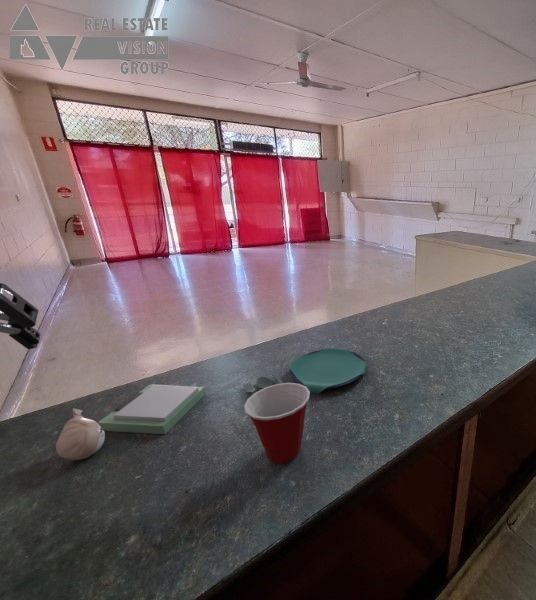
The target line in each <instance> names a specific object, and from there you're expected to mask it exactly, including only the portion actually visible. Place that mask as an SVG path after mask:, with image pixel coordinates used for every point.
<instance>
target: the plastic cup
mask: <svg viewBox="0 0 536 600" xmlns="http://www.w3.org/2000/svg"><path fill="white" fill-rule="evenodd" d="M310 395H311V392H310V391H309V390H308V389H307V387H305V386H303V385H301V384H298V383H297V382H295V383H294V382H283V383H282V384H279V383H276V384H272V385H271V386H269V387H266V388H264V389H260V390H258V391H257V392H256V393H254V394H253V395H252V396H251V395H250V397H248V398H247V400H246V401H245V404H244V406H243V408H244V411H245V413H246V416H248V417H249V418H250V419H251V421H252V422H253V425H254V426H255V430H256V431H257V435H258V437H259V439H260V442H261V444H262V447H263V448H264V451H265V454H266V457H267V459H268V460H269V461H270V462H271V463H272V464H276V465H277V464H278V465H281V464H286V463H289V462H292V461H293V460H294V459H295V458H297V457H298V455H299V454H300V452H301V448H302V441H303V440H302V439H303V435H304V434H303V432H304V425H305V416H306V411H307V405H308V402H309V400H310Z"/></svg>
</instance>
